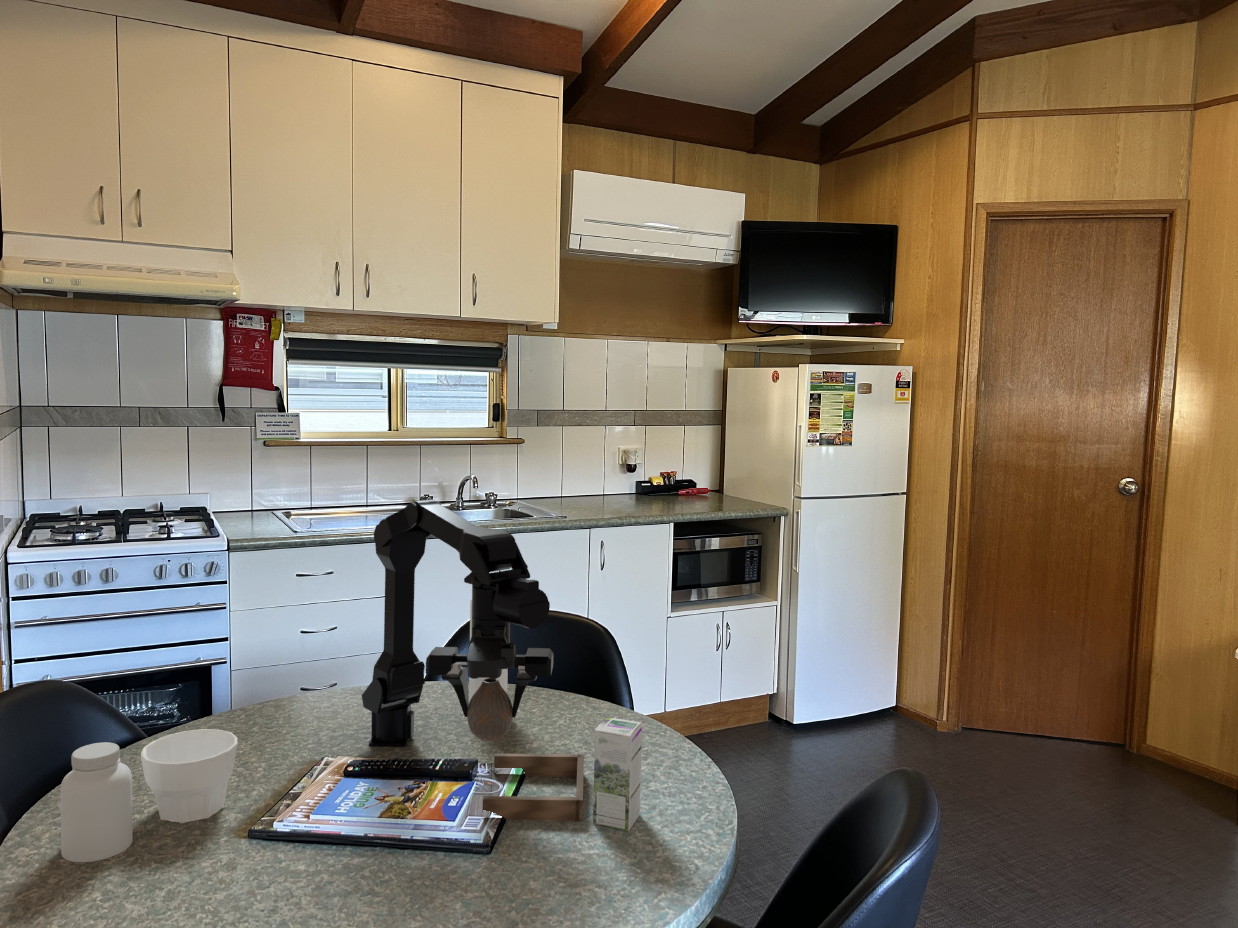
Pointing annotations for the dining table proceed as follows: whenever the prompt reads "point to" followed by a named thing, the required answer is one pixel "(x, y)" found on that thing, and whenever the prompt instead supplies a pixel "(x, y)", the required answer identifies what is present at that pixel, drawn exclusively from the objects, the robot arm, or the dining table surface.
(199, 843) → the dining table surface
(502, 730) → the vase
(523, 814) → the frame
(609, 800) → the syrup box
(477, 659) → the robot arm
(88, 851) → the pill bottle
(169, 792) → the cup
